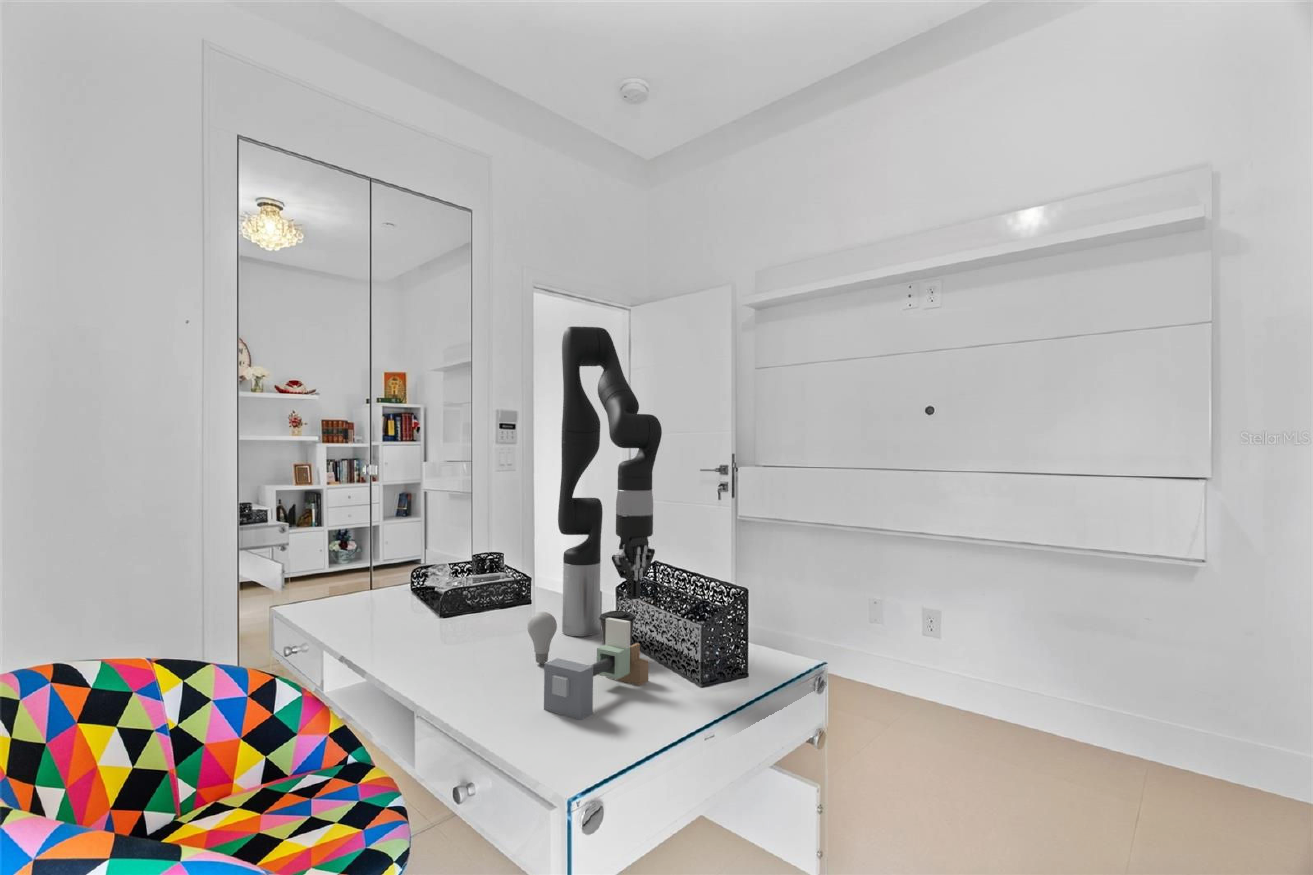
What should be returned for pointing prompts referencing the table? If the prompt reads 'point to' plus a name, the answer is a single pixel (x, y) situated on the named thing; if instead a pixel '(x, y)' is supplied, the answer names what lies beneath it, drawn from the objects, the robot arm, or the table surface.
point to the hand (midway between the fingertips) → (633, 598)
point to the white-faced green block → (616, 648)
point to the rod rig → (584, 682)
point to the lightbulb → (542, 634)
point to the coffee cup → (616, 615)
